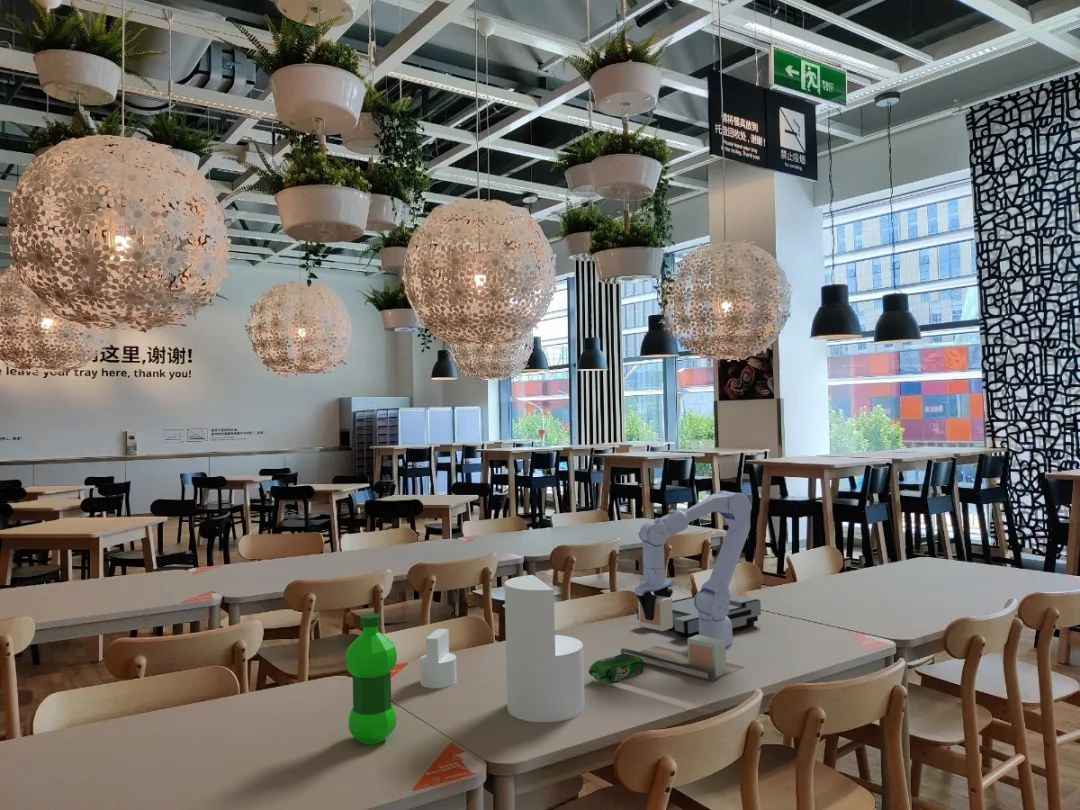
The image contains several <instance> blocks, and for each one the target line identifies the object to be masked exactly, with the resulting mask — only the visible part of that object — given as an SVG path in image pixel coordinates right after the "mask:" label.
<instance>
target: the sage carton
mask: <svg viewBox="0 0 1080 810" xmlns="http://www.w3.org/2000/svg"><path fill="white" fill-rule="evenodd" d="M686 638H687V640H686V641H687V643H686V644H687V653H688V664H690V665H694V666H698V667H702V668H706V669H710V670H714V677H715V678H716V677H719V676H721V675H723V674H725V673H726V663H727V661H726V660H727V658H726V657H727V655H726V648H725V640H721V639H716V638H711V637H706V636H702V635H695V636H693V637H686Z"/></svg>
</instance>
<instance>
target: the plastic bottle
mask: <svg viewBox="0 0 1080 810" xmlns="http://www.w3.org/2000/svg"><path fill="white" fill-rule="evenodd" d="M359 617H360V620H359V622H360V625H359V626H360V627H361V628H362V633H361V634H360V635H359V636H358V637H357V638H355V639H354V640H353V642H351V644H349V646H348V647H347V649H346V652H345V656H346V657H345V665H346V669H347V672H348V673H349V674H350V675H352V708H351V710H350V713H349V715H348V729H349V731H350V732H349V733H350V735H352V736H353V738H355V739H356V740H358V741H359V742H360V743H361V742H362V744H364V745H376V744H379V743H382V742H383V741H385V740H386V738H387V737H388V736H389V735H390V734H391V733H392V732H394V730H395V728H396V724H397V716H396V715H397V714H396V711H395V708H394V706H393V704H392V683H391V682H392V677H391V675H392V673H391V672H392V671H393V669H394V668H395V667H396V665H397V659H398V657H397V655H398V654H397V653H398V652H397V650H396V646H395V643H394V641H392V640H391V639H390V638H388V637H387V636H386V635H385V634H383V633H381V632H380V631H379V627H380V626H381V625H382V615H381V613H365V614H362V615H360V616H359ZM375 743H376V744H375Z"/></svg>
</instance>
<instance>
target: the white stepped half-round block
mask: <svg viewBox="0 0 1080 810" xmlns="http://www.w3.org/2000/svg"><path fill="white" fill-rule="evenodd" d="M449 630H450V629H449V628H436V629H435V630H434V631H433V632H432V633H431V634H429V635H427V636H426V638H425V654H424V655H422V656H420V658H419V679H420V681H419V682H420V683H419V684H421V685H422V686H421V685H420V686H421V687H423V686H424V688H426V687H427V688H426V689H444V688H448V687H452V686H454V685H455V684H457V677H458V676H457V656H456V655H455V654H454V653H451V652H450V632H449Z"/></svg>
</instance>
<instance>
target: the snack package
mask: <svg viewBox="0 0 1080 810" xmlns="http://www.w3.org/2000/svg"><path fill="white" fill-rule="evenodd" d="M645 667H646V665H644V662H643V660H642V659H641V658H639V657H637V656H634V655H629V654H621V653H620V654H618V655H614V656H610V657H605V658H602V659H599V660H597V661H594V662H593V663H592V664H591V665H590V667H589V670H588V674H589V675H590V676H591V677H593V678H594V679H595V680H597V681H600V682H604V683H606V684H616V683H617V684H618V683H619V681H621V680H624V679H628V678H631V677H634V676H637V675H639V674H642V672H643V671H644V670H645Z"/></svg>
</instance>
